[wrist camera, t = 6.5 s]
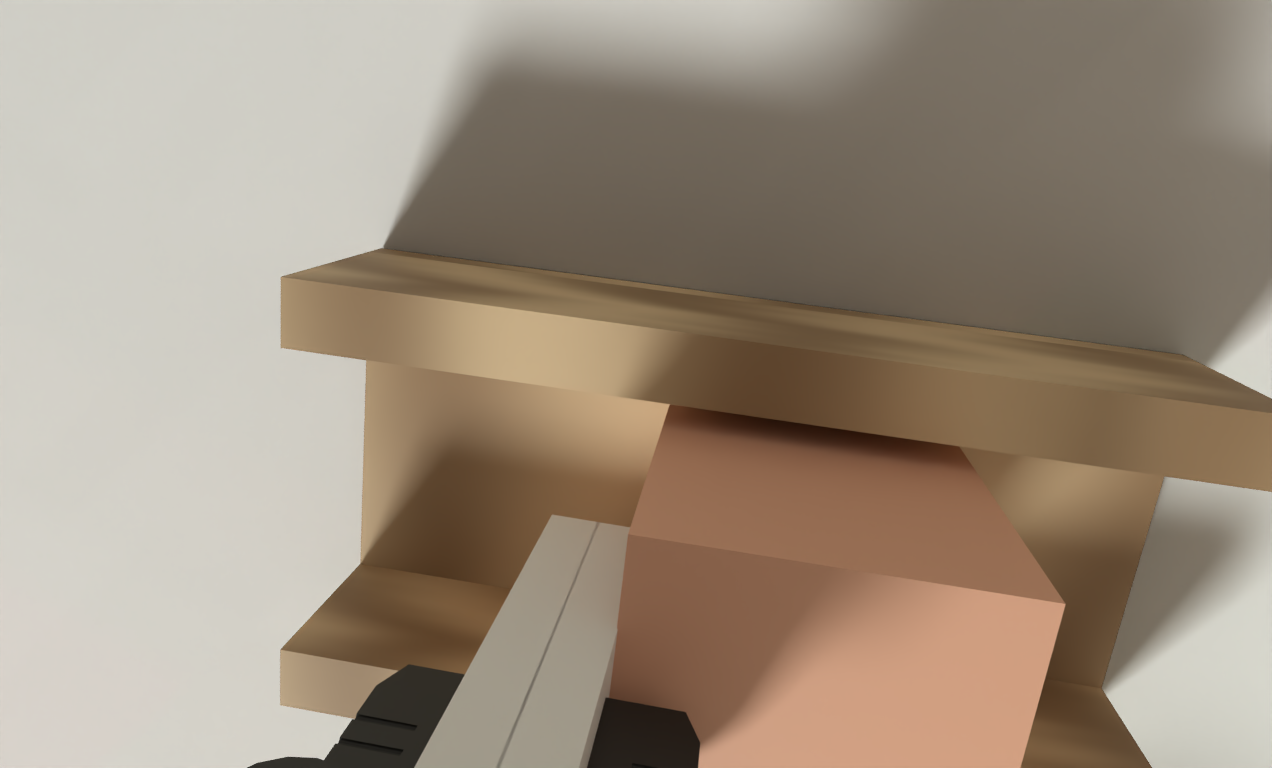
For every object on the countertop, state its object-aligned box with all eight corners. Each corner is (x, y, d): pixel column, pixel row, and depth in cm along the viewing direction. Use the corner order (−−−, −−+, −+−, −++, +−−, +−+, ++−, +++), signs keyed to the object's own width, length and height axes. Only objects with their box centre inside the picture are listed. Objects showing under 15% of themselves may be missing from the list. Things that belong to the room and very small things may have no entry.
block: (650, 598, 19) (587, 875, 12) (679, 374, 18) (628, 534, 10) (886, 637, 19) (970, 950, 11) (935, 410, 17) (1065, 604, 10)
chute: (370, 598, 21) (280, 704, 17) (381, 248, 18) (280, 277, 15) (1076, 719, 19) (1159, 867, 15) (1183, 354, 17) (1312, 419, 13)
